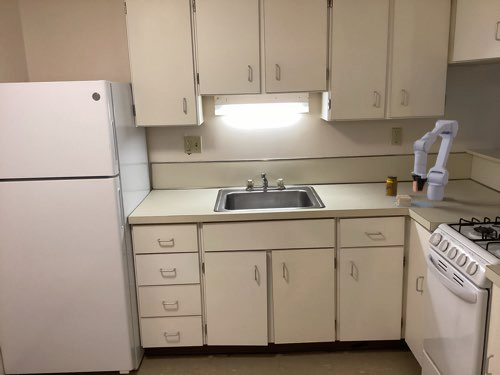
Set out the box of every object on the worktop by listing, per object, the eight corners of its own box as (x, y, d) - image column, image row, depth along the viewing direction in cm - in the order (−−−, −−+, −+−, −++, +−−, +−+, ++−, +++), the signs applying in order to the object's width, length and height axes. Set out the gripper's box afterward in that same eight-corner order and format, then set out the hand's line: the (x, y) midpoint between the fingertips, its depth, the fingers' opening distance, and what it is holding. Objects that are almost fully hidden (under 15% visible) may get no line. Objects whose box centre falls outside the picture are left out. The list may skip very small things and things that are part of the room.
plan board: (392, 202, 228) (393, 200, 228) (427, 203, 226) (427, 201, 226) (398, 208, 217) (398, 206, 217) (434, 209, 215) (434, 207, 215)
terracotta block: (412, 190, 221) (413, 181, 220) (421, 190, 221) (422, 181, 220) (415, 192, 217) (415, 182, 216) (424, 192, 217) (425, 183, 215)
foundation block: (396, 202, 225) (396, 195, 224) (407, 202, 225) (408, 195, 224) (398, 205, 219) (399, 197, 219) (410, 205, 219) (411, 198, 218)
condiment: (382, 196, 244) (383, 175, 241) (393, 194, 248) (394, 174, 245) (391, 198, 238) (393, 177, 235) (402, 197, 241) (404, 176, 239)
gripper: (408, 161, 223) (406, 186, 226) (416, 165, 209) (414, 192, 212) (422, 161, 223) (420, 186, 225) (431, 166, 209) (429, 192, 211)
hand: (418, 189), depth 219 cm, fingers closed on terracotta block, 4 cm apart
